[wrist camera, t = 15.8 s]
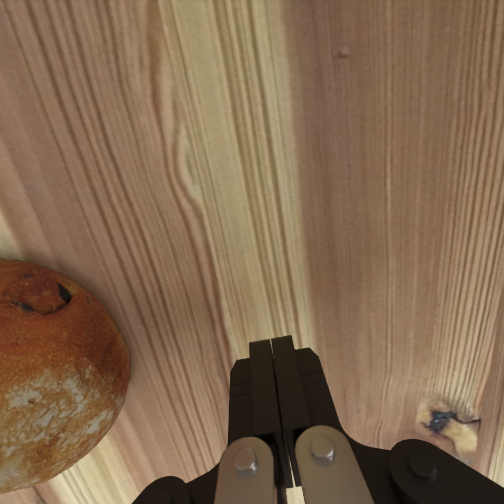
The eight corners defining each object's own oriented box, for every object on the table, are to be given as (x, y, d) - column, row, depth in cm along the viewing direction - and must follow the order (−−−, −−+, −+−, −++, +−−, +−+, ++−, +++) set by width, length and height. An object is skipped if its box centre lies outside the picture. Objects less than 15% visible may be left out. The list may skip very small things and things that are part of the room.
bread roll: (-3, 350, 21) (-84, 512, 15) (-154, 237, 13) (-422, 484, 8) (155, 344, 21) (130, 501, 16) (100, 230, 13) (13, 463, 8)
